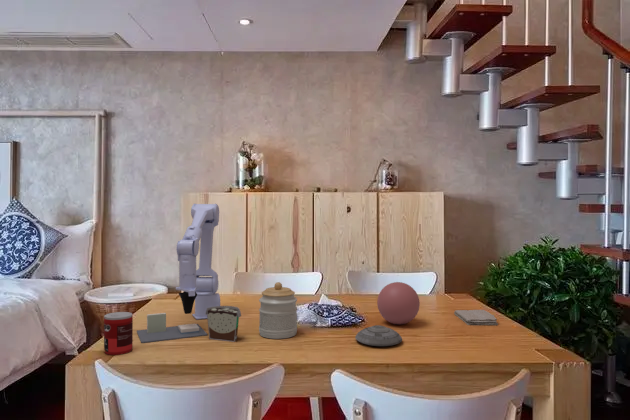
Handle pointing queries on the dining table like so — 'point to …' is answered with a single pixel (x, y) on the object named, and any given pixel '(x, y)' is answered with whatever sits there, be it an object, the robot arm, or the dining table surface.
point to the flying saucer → (378, 336)
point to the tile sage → (156, 322)
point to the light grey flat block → (188, 328)
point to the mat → (167, 334)
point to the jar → (278, 313)
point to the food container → (223, 322)
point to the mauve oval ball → (398, 303)
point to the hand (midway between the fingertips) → (187, 313)
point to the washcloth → (476, 317)
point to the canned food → (118, 333)
